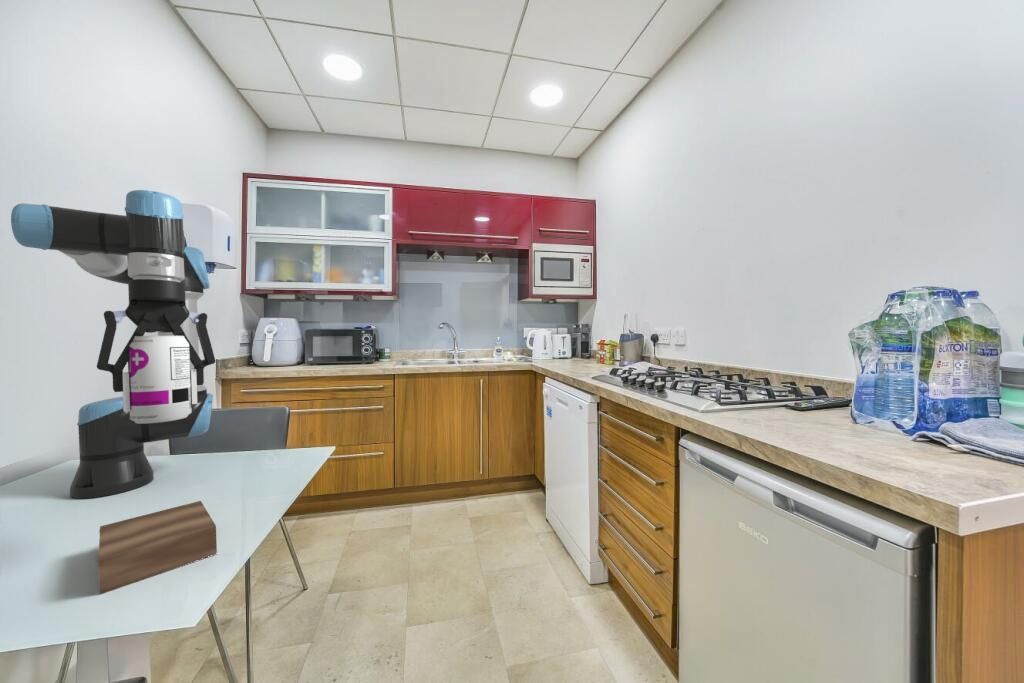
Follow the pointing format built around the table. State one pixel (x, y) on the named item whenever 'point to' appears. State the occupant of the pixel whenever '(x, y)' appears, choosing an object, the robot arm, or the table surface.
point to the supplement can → (159, 379)
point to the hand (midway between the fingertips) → (161, 406)
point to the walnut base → (154, 544)
